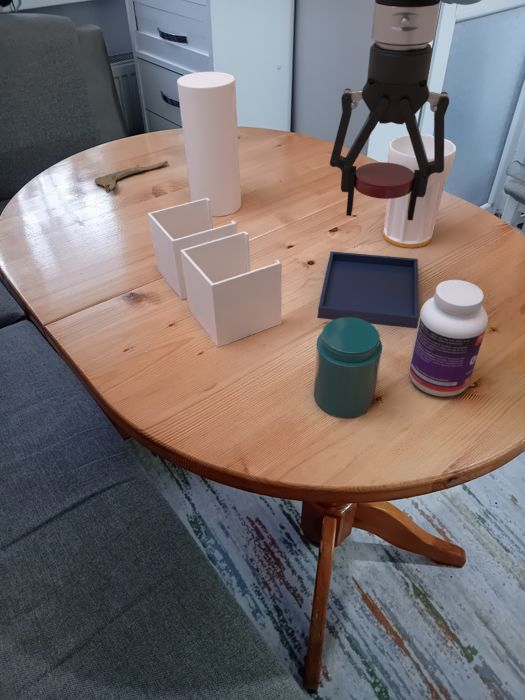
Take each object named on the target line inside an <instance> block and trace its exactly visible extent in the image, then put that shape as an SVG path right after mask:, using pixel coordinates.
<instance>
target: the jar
mask: <svg viewBox="0 0 525 700" xmlns="http://www.w3.org/2000/svg"><path fill="white" fill-rule="evenodd" d="M382 353H383V343H382V341H381V336H380V333H379V331H378V330H377V328H376V327H375V326H374V325H373V323H368V322H367V321H364V320H362V319H358V318H351V317H344V318H338V319H331V321H329V322H328V323H326V324H325V325H324V327H323V328H322V331H321V333H320V334H319V335H318V336H317V339H316V345H315V365H314V382H313V399H314V402H315V404H316V405H317V406H318V408H319V409H320V410H322V411H323V412H324V413H326V414H328V415H330V416H332V417H336V418H341V419H352V418H357V417H360V416H363V415H364V414H366V413H368V412H369V411H370V410H371V409H372V407H373V405H374V403H375V402H374V401H375V397H376V391H377V385H378V379H379V372H380V366H381V361H382V360H381V359H382Z"/></svg>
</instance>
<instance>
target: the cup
mask: <svg viewBox="0 0 525 700" xmlns="http://www.w3.org/2000/svg"><path fill="white" fill-rule="evenodd" d="M421 138H422V141H423V145H424V148H425V152H426V155H427V159H428V162H431V161H434V135H432V134H421ZM456 153H457V146H456V144H454V143H453V142H452V141H451V140H449V139H446V138H444V171H443V172H442V173H433V174H431V175H430V176H429V178H428V183H427V188H426V194H425V195H424V197H417V199H416V205H415V210H414V216H413V220H407V218H408V206H409V200H410V194H411V192H410V193H409V194H407V195H405V196H403V197H399V198H393V199H386V205H385V214H384V215H385V216H384V227H383V233H382V236H383V239H384V240H385V241H386V242H388V243H390V244H391V245H393V246H396V247H400V248H405V249H407V248H408V249H416V248H422V247H424V246H426V245H428V244H429V243H430V242H431V241H432V238H433V234H434V229H435V226H436V222H437V218H438V213H439V208H440V206H441V201H442V196H443V193H444V188H445V184H446V180H447V179H448V178H449V176H450V175H451V173H452V170H453V169H452V168H453V165H454V161H455V157H456ZM387 163H394V164H399V165H402V166H405V167H407V168H409V169H410V170H412V171H413V173H414V170H419V167H418V163H417V160H416V157H415V153H414V150H413V147H412V143H411V140H410V136H409V134H403V135H400V136H397V137H395V138H393V139H392V140H390V141H389V143H388V153H387Z"/></svg>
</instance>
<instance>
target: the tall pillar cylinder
mask: <svg viewBox="0 0 525 700" xmlns="http://www.w3.org/2000/svg"><path fill="white" fill-rule="evenodd" d="M176 84H177V85H176V86H177V93H178V100H179V110H180V120H181V127H182V135H183V136H182V137H183V144H184V145H183V146H184V153H185V161H186V169H187V179H188V187H189V195H190V202H193V201H197V200H201V199H204V198H208V199H209V200H210V205H211V215H212V218H216V217H219V218H220V217H226V216H228V215H229V216H230V215H232V214H234V213H236V212H237V211H239V210H240V209H241V207H242V188H241V187H242V186H241V169H240V167H241V166H240V149H239V130H238V111H237V90H236V78H235V76H234V75H233V74H230V73H227V72H222V71H200V72H199V71H198V72H193V73H188V74H184V75H182V76H179V78H178V79H177V81H176Z"/></svg>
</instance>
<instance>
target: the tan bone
mask: <svg viewBox="0 0 525 700" xmlns="http://www.w3.org/2000/svg"><path fill="white" fill-rule="evenodd" d="M167 164H169V162H168V160H164V161H161V162H158V163H155V164H152V165H147V166H135V167H134V166H133V167H129V168H126V169H122V170H119V171H116V172H115V171H114V172H112V173H109V174H106V175H103V176H98V177H96V178H95V179H94V181H93V182H94V183H95V185H99V186H100V185H101V186H102V187H104V190H105V192H106V193H109V192H110V191H111V190H113V189H114V188H115V187H116V185H117V181H118V180H120V179H123V178H126V177H128V176H130V175H134V174H138V173H140V172H144V171H150V170H153V169H159V168H162V167H163V166H165V165H167Z"/></svg>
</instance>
